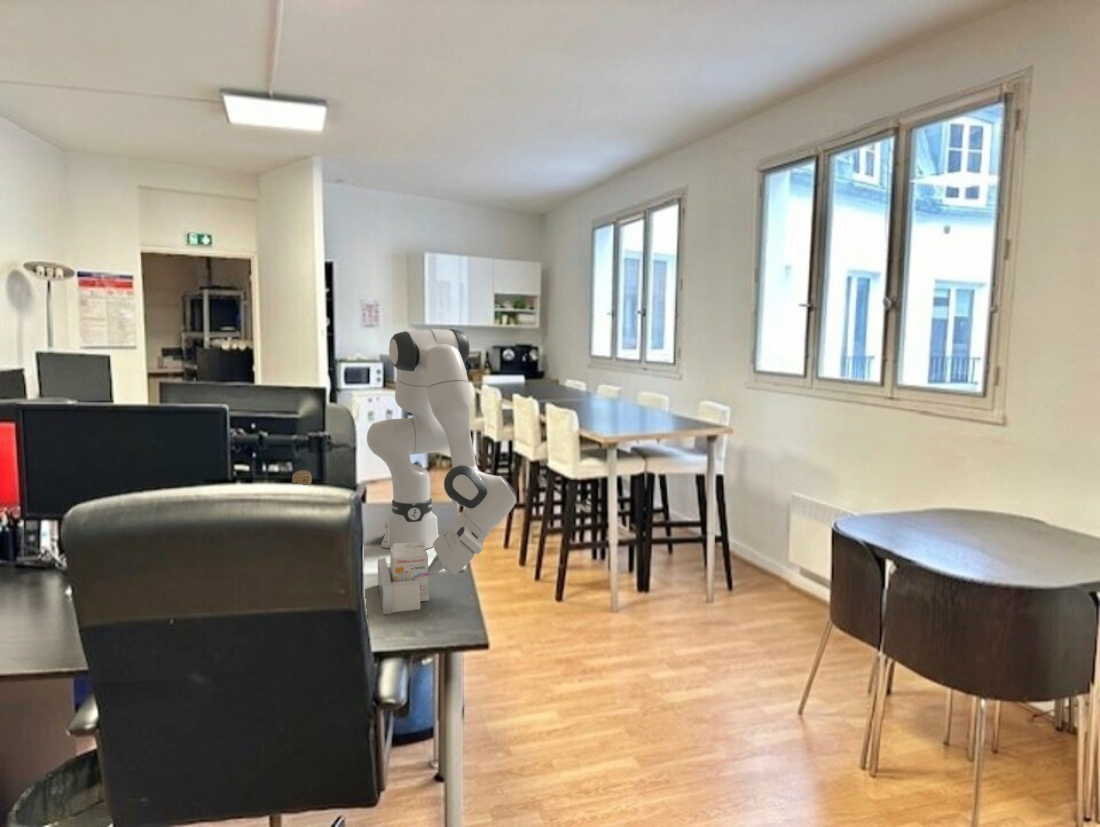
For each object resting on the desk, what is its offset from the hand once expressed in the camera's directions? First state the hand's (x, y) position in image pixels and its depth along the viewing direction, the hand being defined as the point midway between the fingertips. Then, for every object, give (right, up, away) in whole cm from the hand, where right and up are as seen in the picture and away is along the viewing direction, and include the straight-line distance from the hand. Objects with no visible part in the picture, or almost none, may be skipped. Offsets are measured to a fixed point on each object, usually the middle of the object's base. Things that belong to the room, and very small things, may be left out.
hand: (428, 573), depth 180 cm
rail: (-10, -6, -2) cm, 12 cm away
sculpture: (-33, -4, +7) cm, 34 cm away
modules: (-6, -6, -1) cm, 8 cm away
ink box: (-5, -6, -1) cm, 7 cm away
